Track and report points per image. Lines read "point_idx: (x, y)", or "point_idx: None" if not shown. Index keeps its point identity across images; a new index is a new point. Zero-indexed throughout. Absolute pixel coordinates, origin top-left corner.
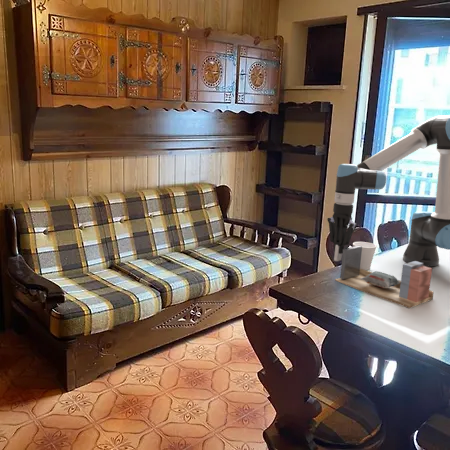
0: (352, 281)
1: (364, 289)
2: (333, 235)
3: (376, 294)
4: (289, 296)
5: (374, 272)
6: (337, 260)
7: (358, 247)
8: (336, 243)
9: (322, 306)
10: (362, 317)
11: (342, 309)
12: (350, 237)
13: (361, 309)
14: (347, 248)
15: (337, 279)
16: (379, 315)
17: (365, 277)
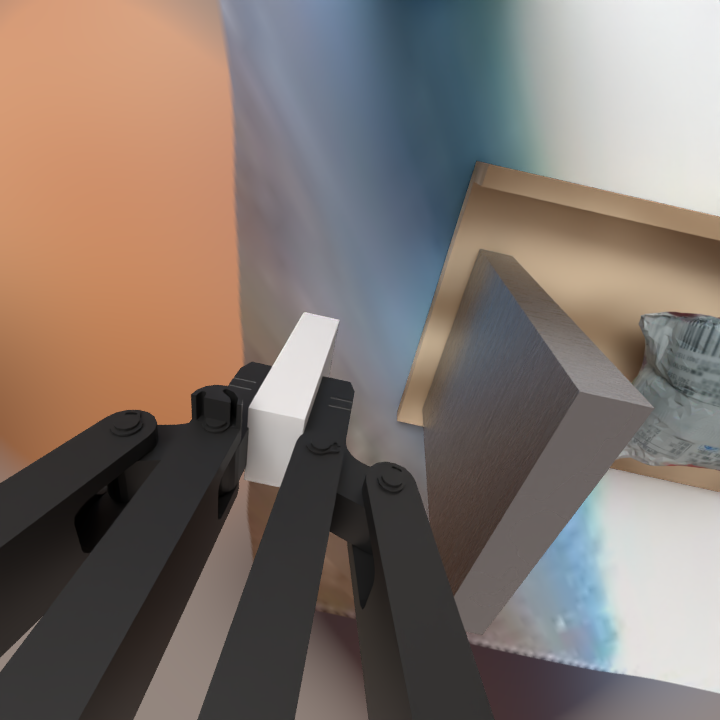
0: None
1: None
2: (79, 552)
3: (677, 478)
4: (348, 616)
5: (712, 431)
6: (329, 371)
7: (594, 483)
8: (238, 484)
9: None
10: (629, 640)
11: (548, 623)
12: (455, 628)
13: (615, 601)
14: (470, 593)
15: (410, 418)
16: (692, 612)
17: (620, 456)
